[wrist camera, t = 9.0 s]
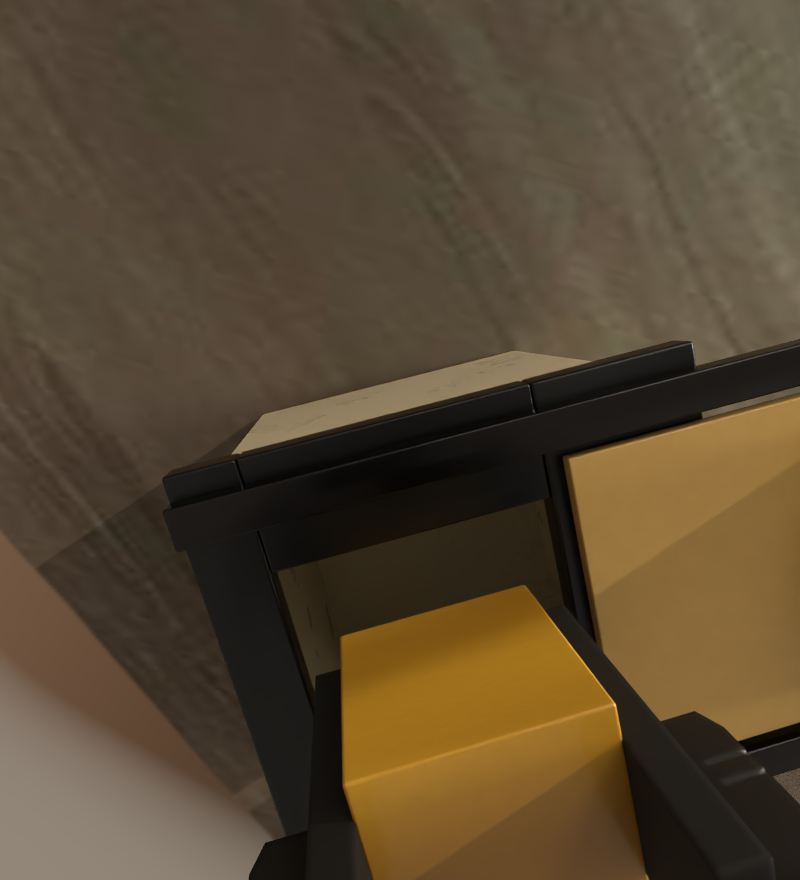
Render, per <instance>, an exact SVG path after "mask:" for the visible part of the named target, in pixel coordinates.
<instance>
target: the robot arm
mask: <svg viewBox="0 0 800 880" xmlns="http://www.w3.org/2000/svg"><path fill="white" fill-rule="evenodd" d="M544 611H545V612H546V613H547V615H548V616H549V617H550V618H551V620H552V621H553V622H554V624H555V625H556V626H557V628H558V629H559V630H560V632H561V633H562V634H563V636H564V637H565V638H566V639H567V641H568V642H569V643H570V645H571V646H572V647H573V649H574V650H575V651H576V653H577V654H578V655H579V656H580V658H581V659H582V660H583V662H584V663H585V664H586V666H587V667H588V668H589V670H590V671H591V672H592V674H593V675H594V676H595V677H596V679H597V680H598V681H599V683H600V684H601V685H602V687H603V688H604V689H605V691H606V692H607V693H608V695H609V696H610V697H611V698H612V700H613V701H614V702H615V704H616V707H617V713H618V718H619V723H620V729H621V734H622V745H623V750H624V756H625V761H626V766H627V772H628V777H629V782H630V788H631V793H632V799H633V804H634V809H635V815H636V820H637V825H638V831H639V836H640V841H641V847H642V852H643V858H644V863H645V868H646V874H647V876H648V877H649V879H650V880H800V804H799V803H798V802H797V801H796V800H795V799H794V798H793V797H792V796H791V795H790V794H789V793H788V792H787V791H786V790H785V789H784V788H783V787H782V786H781V785H780V784H779V783H778V782H777V781H776V780H775V779H774V778H773V777H772V776H771V775H770V774H769V773H768V774H767V773H766V771H765V769H764V767H763V766H762V765H761V764H760V763H759V762H758V761H757V760H756V759H755V758H754V757H753V756H752V755H751V754H748V753H747V752H746V749H745V748H744V747H743V746H742V745H741V744H740V743H739V742H738V741H737V740H736V739H735V738H734V737H733V736H732V735H731V734H730V733H729V732H728V731H727V730H726V729H725V728H724V727H723V726H721V725H720V724H718V723H716V722H714V721H712V720H710V719H709V718H707V717H705V716H703V715H701V714H699V713H698V712H696V711H693V712H690V713H686V714H683V715H680V716H676V717H673V718H670V719H666V720H663V721H660V720H659V719H658V718H657V716H656V715H655V714H654V713H653V712H652V710H651V709H650V708H649V707H648V706H647V704H646V703H645V702H644V701H643V700H642V698H641V697H640V696H639V695H638V694H637V692H636V691H635V690H634V689H633V688H632V686H631V685H630V684H629V683H628V682H627V680H626V679H625V678H624V677H623V676H622V674H621V673H620V672H619V671H618V669H617V668H616V667H615V666H614V665H613V663H612V662H611V661H610V660H609V659H608V657H607V656H606V655H605V654H604V653H603V651H602V650H601V649H600V648H599V647H598V645H597V644H596V643H595V642H594V641H593V639H592V638H591V637H590V636H589V635H588V633H587V632H586V631H585V630H584V629H583V627H582V626H581V625H580V624H579V622H578V621H577V620H576V619H575V618H574V616H573V615H572V614H571V613H570V612H569V610H568V609H567V608H566V607H565V606H564V605H562V606H558V607H555V608H551V609H548V610H544ZM249 880H372V877H371V874H370V871H369V867H368V864H367V861H366V858H365V854H364V851H363V848H362V845H361V841H360V838H359V835H358V832H357V828H356V825H355V822H354V821H353V819H352V816H351V812H350V809H349V806H348V803H347V800H346V796H345V793H344V790H343V787H342V727H341V669H338V670H334V671H331V672H327V673H324V674H320V675H317V676H316V679H315V698H314V718H313V737H312V757H311V776H310V796H309V815H308V830H306V831H303V832H300V833H296V834H293V835H290V836H287V837H283V838H280V839H277V840H273V841H270V842H267V843H265V845H264V847H263V849H262V850H261V852H260V854H259V856H258V858H257V860H256V862H255V864H254V866H253V868H252V870H251V872H250V874H249Z"/></svg>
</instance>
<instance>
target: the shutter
mask: <svg viewBox="0 0 800 880" xmlns="http://www.w3.org/2000/svg"><path fill="white" fill-rule="evenodd" d="M563 463H564V468H565V474H566V479H567V485H568V490H569V496H570V501H571V507H572V512H573V517H574V523H575V528H576V534H577V539H578V545H579V550H580V556H581V561H582V567H583V572H584V577H585V583H586V588H587V594H588V599H589V605H590V610H591V616H592V621H593V627H594V632H595V637H596V643H597V645H598V647H599V648H600V649H601V650H602V651H603V653H604V654H605V655H606V656H607V657H608V659H609V660H610V661H611V662H612V663H613V665H614V666H615V667H616V668H617V669H618V671H619V672H620V673H621V674H622V676H623V677H624V678H625V679H626V680H627V682H628V683H629V684H630V685H631V686H632V688H633V689H634V690H635V691H636V692H637V694H638V695H639V696H640V697H641V698H642V700H643V701H644V702H645V703H646V704H647V706H648V707H649V708H650V709H651V710H652V712H653V713H654V714H655V715H656V716H657V718H658V719H659V720H660V721H663V720H666V719H670V718H673V717H676V716H680V715H683V714H686V713H690V712H693V711H696V712H698V713H699V714H701V715H703V716H705V717H707V718H709V719H710V720H712V721H714V722H716V723H718V724H720V725H721V726H723V727H724V728H725V729H726V730H727V731H728V732H729V733H730V734H731V735H732V736H733V737H734V738H735V739H736V740H737V741H740V740H744V739H747V738H750V737H753V736H757V735H760V734H763V733H766V732H770V731H773V730H776V729H779V728H783V727H786V726H789V725H792V724H796V723H799V722H800V393H797V394H793V395H789V396H785V397H782V398H778V399H774V400H770V401H767V402H763V403H759V404H755V405H752V406H748V407H744V408H741V409H737V410H733V411H729V412H726V413H722V414H718V415H714V416H711V417H707V418H703V419H700V420H696V421H692V422H688V423H685V424H681V425H677V426H673V427H670V428H666V429H662V430H658V431H655V432H651V433H647V434H644V435H640V436H636V437H632V438H629V439H625V440H621V441H617V442H614V443H610V444H606V445H603V446H599V447H595V448H591V449H588V450H584V451H580V452H576V453H573V454H569V455H565V456H563Z"/></svg>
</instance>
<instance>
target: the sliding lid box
mask: <svg viewBox="0 0 800 880" xmlns="http://www.w3.org/2000/svg"><path fill="white" fill-rule="evenodd" d="M798 386H800V339H798V340H794V341H790V342H787V343H783V344H779V345H775V346H771V347H767V348H764V349H760V350H756V351H752V352H748V353H744V354H741V355H737V356H733V357H729V358H725V359H722V360H718V361H714V362H710V363H706V364H702V365H699V366H696V362H695V354H694V346H693V343H692V342H690V341H670V342H666V343H662V344H659V345H655V346H651V347H647V348H643V349H639V350H635V351H631V352H628V353H624V354H620V355H616V356H612V357H608V358H604V359H600V360H597V361H585V360H578V359H570V358H563V357H555V356H548V355H541V354H533V353H526V352H518V351H510V352H507V353H503V354H499V355H495V356H491V357H487V358H483V359H479V360H475V361H471V362H467V363H463V364H459V365H455V366H452V367H448V368H444V369H440V370H436V371H432V372H428V373H424V374H420V375H416V376H412V377H408V378H404V379H400V380H397V381H393V382H389V383H385V384H381V385H377V386H373V387H369V388H365V389H361V390H357V391H353V392H349V393H345V394H342V395H338V396H334V397H330V398H326V399H322V400H318V401H314V402H310V403H306V404H302V405H298V406H294V407H290V408H287V409H283V410H279V411H275V412H271V413H267V414H263V415H262V416H261V418H260V419H259V420H258V421H257V423H256V424H255V425H254V426H253V428H252V429H251V430H250V431H249V433H248V434H247V435H246V436H245V438H244V439H243V440H242V441H241V442H240V444H239V445H238V446H237V447H236V449H235V450H234V451H233V452H232V454H231V455H228V456H225V457H221V458H217V459H213V460H209V461H205V462H201V463H197V464H194V465H190V466H186V467H182V468H178V469H174V470H172V471H170V472H169V473H168V474H167V475H166V476H165V477H164V478H163V480H162V481H163V484H164V487H165V490H166V493H167V496H168V499H169V502H170V505H169V506H168V507H167V508H166V509H165V510H164V511H163V516H164V518H165V521H166V524H167V527H168V530H169V533H170V535H171V538H172V541H173V544H174V547H175V550H176V551H177V552H181V551H184V550H186V551H187V553H188V556H189V559H190V562H191V565H192V568H193V571H194V574H195V577H196V579H197V582H198V585H199V588H200V591H201V594H202V597H203V600H204V602H205V605H206V608H207V611H208V614H209V617H210V620H211V623H212V625H213V628H214V631H215V634H216V637H217V640H218V643H219V646H220V649H221V651H222V654H223V657H224V660H225V663H226V666H227V669H228V672H229V674H230V677H231V680H232V683H233V686H234V689H235V692H236V695H237V697H238V700H239V703H240V706H241V709H242V712H243V715H244V718H245V721H246V723H247V726H248V729H249V732H250V735H251V738H252V741H253V744H254V746H255V749H256V752H257V755H258V758H259V761H260V764H261V767H262V769H263V772H264V775H265V778H266V781H267V784H268V787H269V790H270V793H271V795H272V798H273V801H274V804H275V807H276V810H277V813H278V816H279V818H280V821H281V824H282V827H283V830H284V833H285V836H286V837H287V836H290V835H293V834H296V833H300V832H303V831H306V830H308V815H309V796H310V776H311V757H312V737H313V718H314V698H315V679H316V676H317V675H320V674H324V673H327V672H331V671H334V670H338V669H341V666H340V637H341V636H344V635H347V634H351V633H354V632H358V631H361V630H365V629H369V628H372V627H376V626H379V625H383V624H386V623H390V622H393V621H397V620H400V619H404V618H407V617H411V616H414V615H418V614H422V613H425V612H429V611H432V610H436V609H439V608H443V607H446V606H450V605H453V604H457V603H460V602H464V601H468V600H471V599H475V598H478V597H482V596H485V595H489V594H492V593H496V592H499V591H503V590H506V589H510V588H514V587H517V586H521V585H525V586H526V587H527V588H528V590H529V591H530V592H531V594H532V595H533V596H534V597H535V599H536V600H537V601H538V603H539V604H540V605H541V607H542V608H543V609H544V610H548V609H551V608H555V607H558V606H562V605H564V606H565V607H566V608H567V609H568V610H569V612H570V613H571V614H572V615H573V616H574V618H575V619H576V620H577V621H578V622H579V624H580V625H581V626H582V627H583V629H584V630H585V631H586V632H587V633H588V635H589V636H590V637H591V638H592V639H593V641H594V642H595V643H596V637H595V632H594V627H593V621H592V616H591V610H590V605H589V599H588V594H587V588H586V583H585V577H584V572H583V567H582V561H581V556H580V550H579V545H578V539H577V534H576V528H575V523H574V517H573V512H572V507H571V501H570V496H569V490H568V485H567V479H566V474H565V468H564V463H563V456H565V455H569V454H573V453H576V452H580V451H584V450H588V449H591V448H595V447H599V446H603V445H606V444H610V443H614V442H617V441H621V440H625V439H629V438H632V437H636V436H640V435H644V434H647V433H651V432H655V431H658V430H662V429H666V428H670V427H673V426H677V425H681V424H685V423H688V422H692V421H696V420H700V419H703V418H702V412H704V411H708V410H712V409H716V408H719V407H723V406H727V405H731V404H734V403H738V402H742V401H746V400H749V399H753V398H757V397H760V396H764V395H768V394H772V393H775V392H779V391H783V390H787V389H790V388H794V387H798ZM596 644H597V643H596ZM738 742H739V743H740V744H741V745H742V746H743V747H744V748H745V749H746V752H747V753H748V754H751V755H752V756H753V757H754V758H755V759H756V760H757V761H758V762H759V763H760V764H761V765H762V766H763V767H764V769H765V771H766V773H767V774H768V773H769V774H770V775H771V776H775V775H778V774H781V773H785V772H788V771H791V770H794V769H797V768H800V722H799V723H796V724H792V725H789V726H786V727H783V728H779V729H776V730H773V731H770V732H766V733H763V734H760V735H757V736H753V737H750V738H747V739H744V740H740V741H738Z"/></svg>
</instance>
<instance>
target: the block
mask: <svg viewBox="0 0 800 880" xmlns="http://www.w3.org/2000/svg"><path fill="white" fill-rule="evenodd" d="M340 666H341V727H342V787H343V790H344V793H345V796H346V800H347V803H348V806H349V809H350V812H351V816H352V819H353V821H354V822H355V825H356V828H357V832H358V835H359V838H360V841H361V845H362V848H363V851H364V854H365V858H366V861H367V864H368V867H369V871H370V874H371V877H372V880H649V879H648V876H647V874H646V868H645V863H644V858H643V852H642V847H641V841H640V836H639V831H638V825H637V820H636V815H635V809H634V804H633V799H632V793H631V788H630V782H629V777H628V772H627V766H626V761H625V756H624V750H623V745H622V734H621V729H620V723H619V718H618V713H617V707H616V704H615V702H614V701H613V700H612V698H611V697H610V696H609V695H608V693H607V692H606V691H605V689H604V688H603V687H602V685H601V684H600V683H599V681H598V680H597V679H596V677H595V676H594V675H593V674H592V672H591V671H590V670H589V668H588V667H587V666H586V664H585V663H584V662H583V660H582V659H581V658H580V656H579V655H578V654H577V653H576V651H575V650H574V649H573V647H572V646H571V645H570V643H569V642H568V641H567V639H566V638H565V637H564V636H563V634H562V633H561V632H560V630H559V629H558V628H557V626H556V625H555V624H554V622H553V621H552V620H551V618H550V617H549V616H548V615H547V613H546V612H545V611H544V609H543V608H542V607H541V605H540V604H539V603H538V601H537V600H536V599H535V597H534V596H533V595H532V594H531V592H530V591H529V590H528V588H527V587H526V586H525V585H521V586H517V587H514V588H510V589H506V590H503V591H499V592H496V593H492V594H489V595H485V596H482V597H478V598H475V599H471V600H468V601H464V602H460V603H457V604H453V605H450V606H446V607H443V608H439V609H436V610H432V611H429V612H425V613H422V614H418V615H414V616H411V617H407V618H404V619H400V620H397V621H393V622H390V623H386V624H383V625H379V626H376V627H372V628H369V629H365V630H361V631H358V632H354V633H351V634H347V635H344V636H341V637H340Z"/></svg>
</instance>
